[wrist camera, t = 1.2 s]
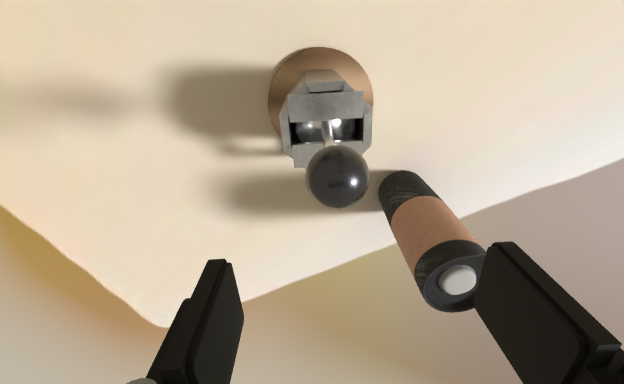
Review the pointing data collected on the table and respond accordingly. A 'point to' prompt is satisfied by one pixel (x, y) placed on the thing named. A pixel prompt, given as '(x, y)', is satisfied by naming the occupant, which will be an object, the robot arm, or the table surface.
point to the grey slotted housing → (323, 113)
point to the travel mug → (432, 242)
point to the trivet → (314, 62)
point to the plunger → (334, 164)
